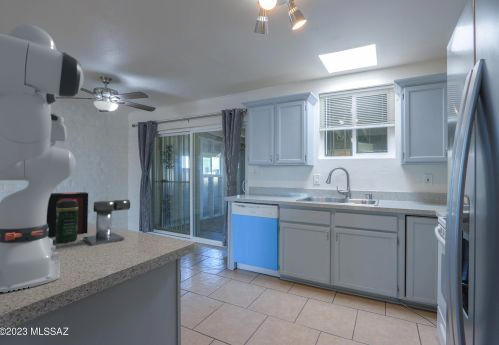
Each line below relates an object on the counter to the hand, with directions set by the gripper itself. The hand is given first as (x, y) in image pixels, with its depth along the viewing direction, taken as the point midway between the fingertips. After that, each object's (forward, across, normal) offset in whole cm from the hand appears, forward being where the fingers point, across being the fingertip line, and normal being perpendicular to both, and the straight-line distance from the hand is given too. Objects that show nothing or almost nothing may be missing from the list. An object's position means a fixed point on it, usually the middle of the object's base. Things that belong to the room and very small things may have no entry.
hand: (33, 150), depth 100 cm
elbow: (+25, +28, +6) cm, 38 cm away
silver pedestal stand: (+38, +26, +3) cm, 46 cm away
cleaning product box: (+41, +9, +23) cm, 48 cm away
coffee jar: (+40, +11, +8) cm, 42 cm away
